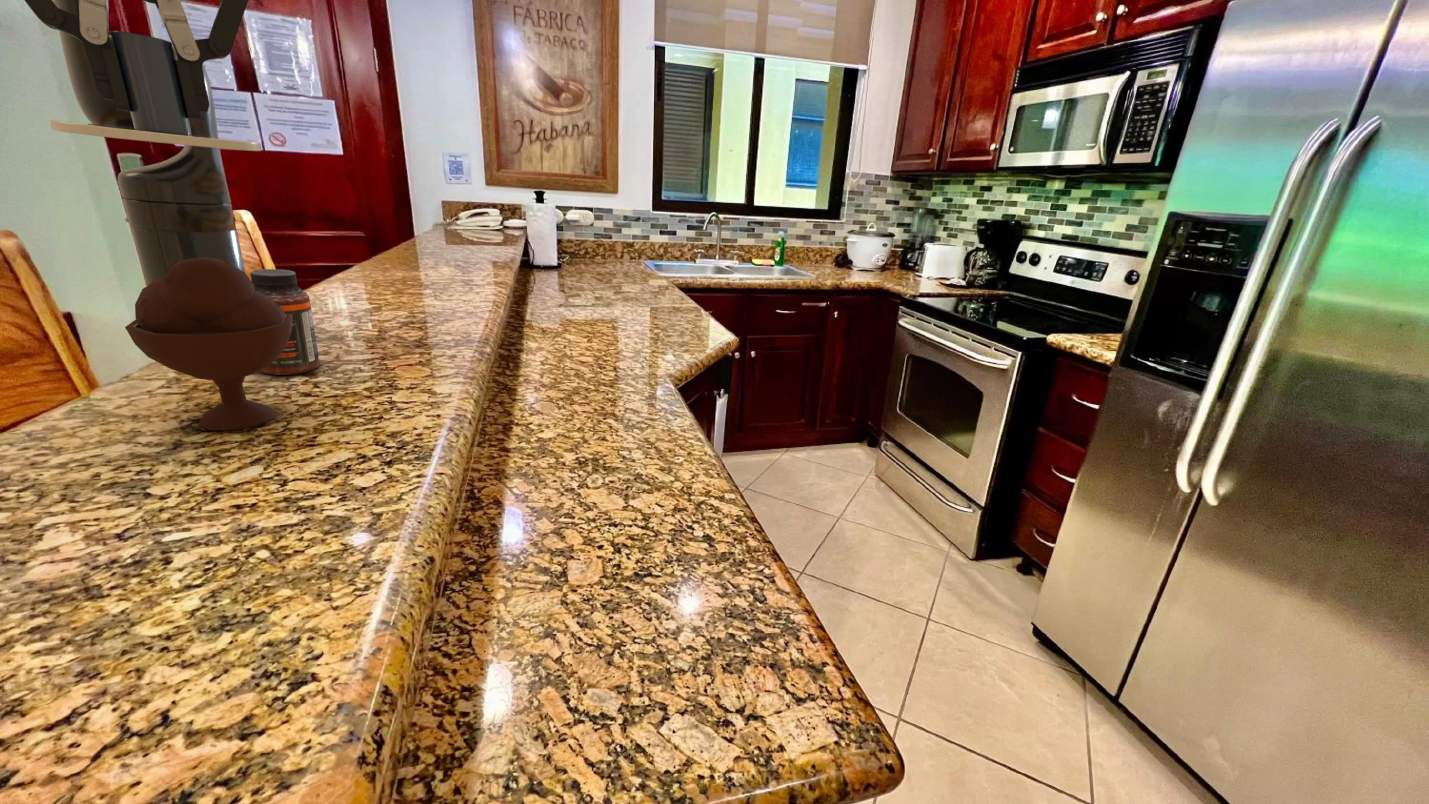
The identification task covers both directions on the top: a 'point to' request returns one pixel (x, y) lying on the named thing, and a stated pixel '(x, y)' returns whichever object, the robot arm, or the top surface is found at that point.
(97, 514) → the top surface
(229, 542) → the top surface
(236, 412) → the ice cream bowl
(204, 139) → the lid with cylindrical handle
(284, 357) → the supplement bottle
